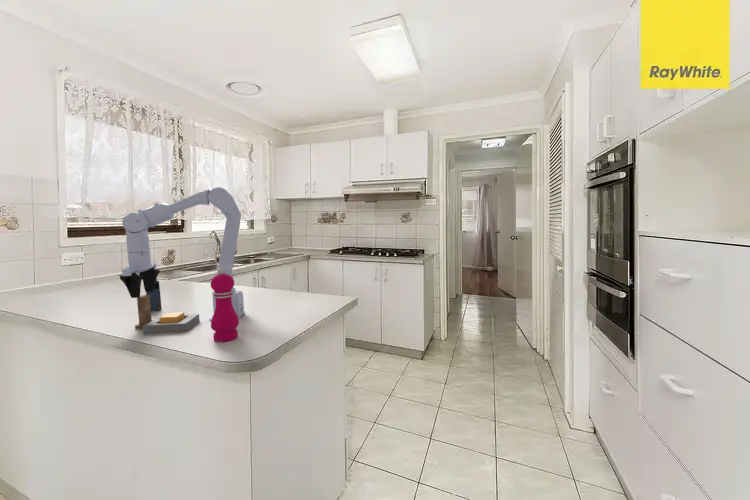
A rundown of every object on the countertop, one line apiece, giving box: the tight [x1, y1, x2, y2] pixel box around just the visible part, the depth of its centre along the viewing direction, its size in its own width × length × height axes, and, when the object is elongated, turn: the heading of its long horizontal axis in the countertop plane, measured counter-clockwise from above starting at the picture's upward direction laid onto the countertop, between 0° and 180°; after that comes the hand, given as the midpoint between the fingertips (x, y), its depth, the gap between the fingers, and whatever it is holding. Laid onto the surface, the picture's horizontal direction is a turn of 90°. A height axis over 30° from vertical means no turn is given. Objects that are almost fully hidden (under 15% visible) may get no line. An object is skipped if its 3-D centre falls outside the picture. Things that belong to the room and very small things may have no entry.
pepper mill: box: [210, 269, 240, 343], centre depth 91 cm, size 7×7×20 cm
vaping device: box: [145, 278, 163, 312], centre depth 122 cm, size 3×5×12 cm, turn 79°
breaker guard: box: [142, 313, 201, 335], centre depth 102 cm, size 12×10×2 cm
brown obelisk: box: [134, 294, 153, 330], centre depth 103 cm, size 4×4×10 cm
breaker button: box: [159, 311, 185, 323], centre depth 102 cm, size 5×5×2 cm
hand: (142, 294), depth 103 cm, fingers open, 7 cm apart
